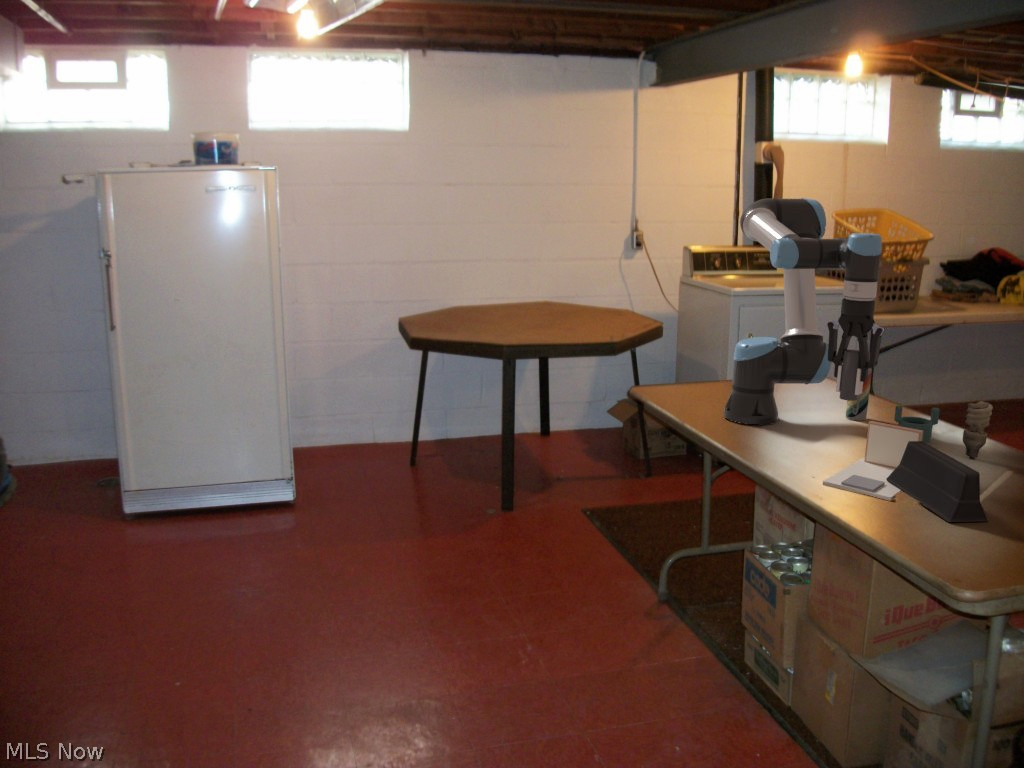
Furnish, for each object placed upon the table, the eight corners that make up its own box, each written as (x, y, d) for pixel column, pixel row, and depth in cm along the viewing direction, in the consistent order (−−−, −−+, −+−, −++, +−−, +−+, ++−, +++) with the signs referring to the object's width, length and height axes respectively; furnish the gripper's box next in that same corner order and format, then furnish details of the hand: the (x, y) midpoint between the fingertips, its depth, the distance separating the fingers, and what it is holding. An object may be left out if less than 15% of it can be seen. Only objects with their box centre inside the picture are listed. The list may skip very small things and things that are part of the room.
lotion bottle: (845, 419, 250) (852, 351, 245) (845, 415, 255) (852, 348, 250) (866, 422, 248) (873, 353, 243) (866, 417, 253) (873, 350, 248)
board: (822, 484, 196) (823, 478, 196) (866, 458, 215) (866, 453, 214) (890, 500, 186) (891, 494, 186) (929, 472, 205) (930, 466, 204)
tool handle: (836, 398, 214) (841, 351, 211) (843, 395, 217) (848, 348, 214) (853, 401, 211) (858, 353, 209) (859, 398, 214) (864, 351, 212)
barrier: (885, 479, 196) (892, 438, 194) (920, 479, 198) (928, 437, 195) (949, 522, 174) (958, 476, 171) (988, 522, 175) (998, 475, 172)
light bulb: (988, 460, 215) (996, 401, 211) (980, 464, 211) (989, 405, 208) (964, 454, 219) (972, 397, 215) (956, 459, 215) (964, 401, 211)
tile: (864, 461, 209) (868, 422, 207) (866, 460, 211) (871, 420, 208) (915, 473, 202) (920, 432, 199) (918, 471, 203) (923, 430, 201)
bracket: (938, 440, 231) (942, 408, 229) (916, 445, 226) (920, 412, 224) (908, 432, 238) (912, 401, 236) (886, 436, 234) (890, 404, 232)
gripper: (818, 296, 211) (809, 388, 217) (889, 303, 200) (878, 401, 206) (830, 293, 217) (821, 384, 222) (900, 300, 205) (889, 395, 211)
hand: (848, 392), depth 214 cm, fingers closed on tool handle, 4 cm apart
